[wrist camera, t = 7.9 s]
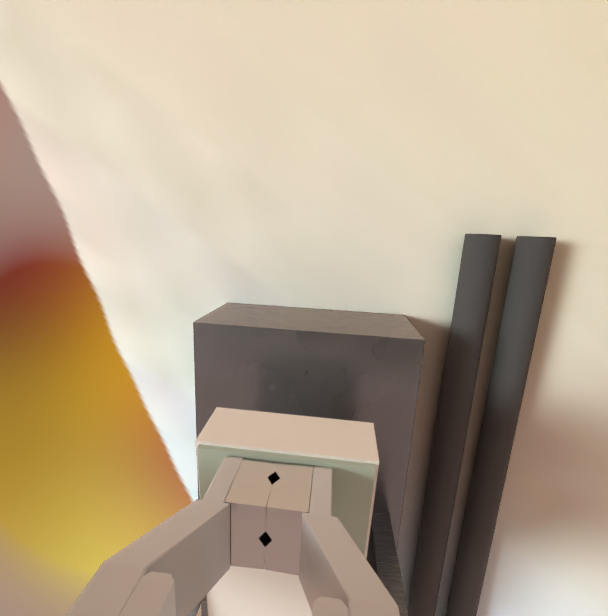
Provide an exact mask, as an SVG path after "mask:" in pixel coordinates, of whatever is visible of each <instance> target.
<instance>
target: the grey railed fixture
mask: <svg viewBox="0 0 608 616" xmlns="http://www.w3.org/2000/svg"><path fill="white" fill-rule="evenodd" d="M500 241H501V235H490V234H465V239H464V246H463V252H462V259H461V265H460V272H459V278H458V285H457V291H456V298H455V305H454V311H453V318H452V324H451V331H450V337H449V344H448V350H447V357H446V364H445V370H444V377H443V383H442V390H441V396H440V403H439V409H438V416H437V423H436V429H435V436H434V442H433V449H432V455H431V462H430V469H429V475H428V482H427V488H426V495H425V501H424V508H423V514H422V521H421V528H420V534H419V541H418V547H417V554H416V560H415V567H414V573H413V580H412V587H411V593H410V600H409V606H408V616H434V615H435V609H436V603H437V598H438V592H439V586H440V581H441V575H442V569H443V564H444V558H445V552H446V547H447V541H448V535H449V530H450V524H451V518H452V513H453V507H454V501H455V496H456V490H457V484H458V479H459V473H460V467H461V462H462V456H463V450H464V445H465V439H466V433H467V428H468V422H469V416H470V411H471V405H472V399H473V394H474V388H475V382H476V377H477V371H478V365H479V360H480V354H481V348H482V343H483V337H484V331H485V326H486V320H487V314H488V309H489V303H490V297H491V292H492V286H493V280H494V275H495V269H496V263H497V258H498V252H499V246H500ZM555 243H556V238H554V237H530V236H517V239H516V245H515V250H514V255H513V261H512V266H511V271H510V277H509V282H508V288H507V293H506V298H505V304H504V309H503V314H502V320H501V325H500V330H499V336H498V341H497V346H496V352H495V357H494V362H493V368H492V373H491V378H490V384H489V389H488V394H487V400H486V405H485V411H484V416H483V421H482V427H481V432H480V437H479V443H478V448H477V453H476V459H475V464H474V469H473V475H472V480H471V485H470V491H469V496H468V501H467V507H466V512H465V518H464V523H463V528H462V534H461V539H460V544H459V550H458V555H457V560H456V566H455V571H454V576H453V582H452V587H451V592H450V598H449V603H448V608H447V614H446V616H476V613H477V608H478V604H479V599H480V594H481V590H482V585H483V580H484V576H485V571H486V566H487V562H488V557H489V552H490V548H491V543H492V538H493V533H494V529H495V524H496V519H497V515H498V510H499V505H500V501H501V496H502V491H503V487H504V482H505V477H506V472H507V468H508V463H509V458H510V454H511V449H512V444H513V440H514V435H515V430H516V426H517V421H518V416H519V412H520V407H521V402H522V397H523V393H524V388H525V383H526V379H527V374H528V369H529V365H530V360H531V355H532V351H533V346H534V341H535V336H536V332H537V327H538V322H539V318H540V313H541V308H542V304H543V299H544V294H545V290H546V285H547V280H548V275H549V271H550V266H551V261H552V257H553V252H554V247H555Z"/></svg>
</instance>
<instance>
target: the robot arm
mask: <svg viewBox="0 0 608 616" xmlns="http://www.w3.org/2000/svg"><path fill="white" fill-rule="evenodd" d="M332 476H333V469H332V468H331V467H320V466H314V470H313V466H307V465H298V464H287V463H278V462H272V461H264V460H256V459H249V458H243V457H235V456H226V457H225V458H224V459H223V461H222V463H221V465H220V467H219V469H218V471H217V473H216V475H215V477H214V479H213V480H212V482H211V484H210V486H209V488H208V490H207V492H206V494H205V496H204V498H203V500H198V499H197V500H195V501H194V502H192V503H191V504H189V505H188V506H187V507H185V508H183V509H182V510H180V511H179V512H178V513H176V514H175V515H173V516H171V517H170V518H168V519H167V520H165V521H164V522H162V523H161V524H159V525H158V526H157V527H155V528H153V529H152V530H150V531H149V532H147V533H146V534H144V535H143V536H141V537H140V538H139V539H137V540H136V541H134V542H133V543H131V544H129V545H128V546H127V547H125V548H123V549H122V550H120V551H119V552H117V553H116V554H114V555H113V556H111V557H110V558H108V559H107V560H105V561H104V562H103V563H102V565H101V566H100V567H99V569H98V570H97V572H96V573H95V574H94V576H93V577H92V579H91V580H90V581H89V583H88V584H87V585H86V587H85V588H84V590H83V591H82V593H81V594H80V595H79V597H78V598H77V599H76V601H75V602H74V604H73V605H72V607H71V608H70V609H69V610H68V612H67V613H66V615H65V616H188V615H189V614H190V612H191V611H192V610H193V609H194V608H195V607H196V606H197V605H198V603H199V602H200V601H201V600H202V599H203V598H204V597H205V596H206V595H207V593H208V592H209V591H210V590H211V589H212V588H213V587H214V586H215V584H216V583H217V582H218V581H219V580H220V579H221V578H222V577H223V576H224V574H225V573H226V572H227V571H228V570H229V569H230V566H237V567H246V568H256V569H265V570H270V571H276V572H281V573H287V574H293V575H298V576H299V580H300V583H301V585H302V588H303V590H304V593H305V596H306V598H307V601H308V604H309V606H310V609H311V612H312V616H400V614H399V608H398V605H397V604H396V602H395V601H394V599H393V598H392V596H391V595H390V594H389V592H388V591H387V589H386V588H385V586H384V585H383V583H382V582H381V580H380V579H379V577H378V576H377V574H376V573H375V571H374V570H373V569H372V567H371V566H370V564H369V563H368V561H367V560H366V558H365V557H364V555H363V554H362V552H361V551H360V549H359V548H358V547H357V545H356V544H355V542H354V541H353V539H352V538H351V536H350V535H349V533H348V532H347V530H346V529H345V527H344V526H343V525H342V523H341V522H340V520H339V519H338V517H333V516H332ZM312 477H313V479H312Z"/></svg>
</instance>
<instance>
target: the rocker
mask: <svg viewBox="0 0 608 616" xmlns="http://www.w3.org/2000/svg"><path fill="white" fill-rule="evenodd" d="M195 442H196V455H197V469H198V483H199V496H200V500H203V498H204V496H205V494H206V492H207V490H208V488H209V486H210V484H211V482H212V480H213V479H214V477H215V475H216V473H217V471H218V469H219V467H220V465H221V463H222V461H223V459H224V458H225V457H226V456H235V457H243V458H249V459H256V460H264V461H272V462H278V463H287V464H298V465H307V466H313V470H314V466H320V467H331V468H332V469H333V476H332V516H333V517H338V519H339V520H340V522H341V523H342V525H343V526H344V527H345V529H346V530H347V532H348V533H349V535H350V536H351V538H352V539H353V541H354V542H355V544H356V545H357V547H358V548H359V549H360V551H361V552H362V554H363V555H364V557H365V558H367V551H368V543H369V536H370V528H371V520H372V513H373V505H374V498H375V490H376V483H377V475H378V467H379V456H378V450H377V443H376V436H375V430H374V423H370V422H360V421H350V420H340V419H330V418H320V417H310V416H300V415H290V414H281V413H271V412H261V411H251V410H241V409H231V408H221V407H216V409H215V411H214V412H213V414H212V415H211V417H210V419H209V420H208V422H207V423H206V425H205V426H204V428H203V430H202V431H201V433H200V434H199V436H198V438H197V439H196V441H195ZM312 479H313V477H312ZM201 601H205V602H207V606H208V616H312V612H311V609H310V606H309V604H308V601H307V598H306V596H305V593H304V590H303V588H302V585H301V583H300V580H299V576H298V575H293V574H287V573H281V572H276V571H270V570H265V569H256V568H246V567H237V566H230V569H229V570H228V571H227V572H226V573H225V574H224V576H223V577H222V578H221V579H220V580H219V581H218V582H217V583H216V584H215V586H214V587H213V588H212V589H211V590H210V591H209V592H208V593H207V595H206V596H205V597H204V598H203V599H202V600H201Z"/></svg>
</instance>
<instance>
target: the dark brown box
mask: <svg viewBox="0 0 608 616" xmlns="http://www.w3.org/2000/svg"><path fill="white" fill-rule="evenodd" d="M193 328H194V363H195V398H196V433H197V438H198V436H199V434H200V433H201V431H202V430H203V428H204V426H205V425H206V423H207V422H208V420H209V419H210V417H211V415H212V414H213V412H214V411H215V409H216V407H221V408H231V409H241V410H251V411H261V412H271V413H281V414H290V415H300V416H310V417H320V418H330V419H340V420H350V421H360V422H370V423H374V430H375V436H376V443H377V450H378V456H379V467H378V475H377V483H376V490H375V498H374V505H373V513H372V520H371V528H370V536H369V543H368V551H367V558H366V560H367V561H368V563H369V564H370V566H371V567H372V569H373V570H374V571H375V573H376V574H377V576H378V577H379V579H380V580H381V582H382V583H383V585H384V586H385V588H386V589H387V591H388V592H389V594H390V595H391V596H392V598H393V599H394V601H395V602H396V604H397V605H398V608H399V614H400V616H408V612H407V606H406V601H405V595H404V590H403V585H402V579H401V574H400V568H399V563H398V557H397V552H396V550H397V543H398V535H399V528H400V521H401V513H402V506H403V499H404V491H405V484H406V476H407V469H408V462H409V454H410V447H411V439H412V432H413V425H414V417H415V410H416V403H417V395H418V388H419V380H420V373H421V366H422V358H423V351H424V343H425V339H424V338H423V337H422V336H421V335H420V333H419V332H418V331H417V330H416V329H415V328H414V326H413V325H412V324H411V323H410V322H409V320H408V319H407V318H406V317H405V316H404V315H396V314H382V313H368V312H353V311H339V310H324V309H310V308H296V307H281V306H267V305H252V304H238V303H226V304H224V305H222V306H221V307H219V308H217V309H216V310H214V311H212V312H210V313H209V314H207V315H205V316H203V317H202V318H200V319H198V320H196V321H195V322H193ZM198 500H200V496H199V483H198ZM200 604H201V609H202V616H208V606H207V602H205V601H200V602H199V603H198V605H197V606H196V607H195V608H194V609H193V610H192V611H191V612H190V614H189V615H188V616H196V615H197V612H198V609H199V607H200Z"/></svg>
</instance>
